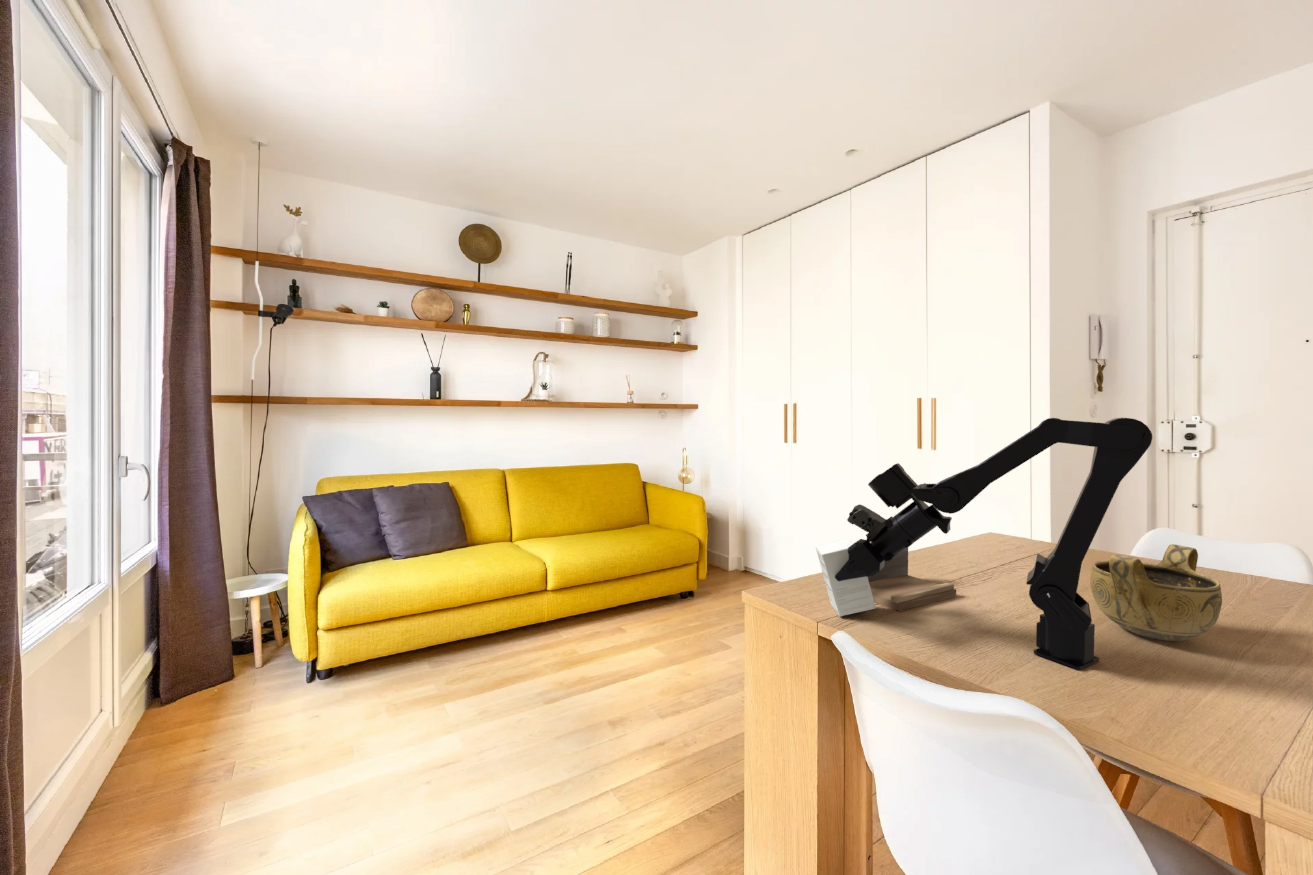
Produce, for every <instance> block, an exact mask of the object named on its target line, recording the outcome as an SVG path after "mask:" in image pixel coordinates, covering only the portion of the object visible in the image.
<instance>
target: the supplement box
mask: <svg viewBox="0 0 1313 875" xmlns="http://www.w3.org/2000/svg"><path fill="white" fill-rule="evenodd" d="M854 543H855V542H854V541H853V540H852V539H850V538H846V539H841V540H839V541H834V542H831V543H826V544H821V545H817V546H815V550H816V554H817V557H818V560H819V561H818V562H819V564H820V568H821V571H822V576H823V579H824V583H825V586H826V591H827V594H828V598H829V602H830V605H831V607H832V608H833V609H834V611H835V613H836V614H837V615H838V617H843V616H848V615H852V614H857V613H861V612H866V611H870V610H876V608H877V607H876V602H874V599H873V595H872V592H871V588H870V584H869V581H868V577H860V578H854V579H849V580H843V581H837V579H836V578H835V575H836V574H837V573H838V572H839V571H840V569H841V568H842V567H843V566H844V564H845V563H846V562H847V561H848V559H849V554H848V548H849V547H850V546H851V545H853V544H854Z"/></svg>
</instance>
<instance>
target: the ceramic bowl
mask: <svg viewBox="0 0 1313 875" xmlns="http://www.w3.org/2000/svg"><path fill="white" fill-rule="evenodd" d="M1198 560H1199V553H1198V550H1197V549H1196V548H1195V547H1190V546H1185V545H1181V544H1173V543H1172V544H1169V545H1168V546H1167V548H1166V550H1165V552H1164V554H1163V557H1162V560H1161V561H1160V562H1159V563H1157V564H1155V563H1149V562H1147V563H1146V562H1142V560H1141V559H1139V558H1138V557H1137V558H1136V557H1132V556H1125V555H1118V554H1112V555H1111V556H1110V558H1109V560H1098V561H1095V562H1093V563H1092V567H1091V572H1090V589H1091V593H1092V598H1093V601H1094V602H1095V604H1096V606H1097V607H1098V609H1099V610H1100V611H1101V612H1102V613H1103V614H1104V615H1105V616H1106V617H1107V618H1108V619H1109V620H1110V621H1112V622H1113V623H1115V624H1117V625H1118V626H1120V627H1122V628H1124V629H1125V630H1127V631H1129V632H1132V633H1133V634H1134V635H1135V634H1136V635H1139V636H1141V637H1145V638H1149V639H1152V640H1157V641H1164V642H1165V641H1166V642H1168V641H1169V642H1178V641H1184V640H1185V641H1187V640H1190V639H1194V638H1197V637H1200V636H1202V635H1204V634H1205V633H1207V632H1209V630H1211V629H1212V628H1213V627H1214V625H1215V624H1216V623H1217V621H1218V619H1219V618H1220V614H1221V610H1222V605H1223V596H1222V595H1223V594H1222V588H1221V587H1222V586H1221V583H1220V582H1219V581H1218V579H1216V578H1213V577H1211V576H1209V575H1206V574H1202V573H1198V572H1196V570H1197V566H1198Z"/></svg>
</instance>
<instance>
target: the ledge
mask: <svg viewBox="0 0 1313 875" xmlns="http://www.w3.org/2000/svg"><path fill="white" fill-rule="evenodd" d="M867 577H868V576H867ZM868 581H869V584H870V588H871V592H872V595H873V599H874V603H875V604H879V605H880V606H884V607H886V606H887V607H886V608H889V609H892V610H895V611H897V610H898V611H897V612H902V611H901V610H903V611H907V610H910V609H909V608H911V609H914V608H913V607H915V608H917V607H916V606H918V607H922V606H926V605H929V604H933V603H936V602H941V601H944V600H948V598H949V599H952V598H955V596H956V597H957V589H956V588H955V584H954V583H951V582H948V581H947V582H944V583H936V582H931V581H928V580H925V579H921V578H918V577H915V576H911V575H909V547H908V548H906V549H904V550H903V551H901V552H900V553H899V554H898V555H896V556H895V557H894V558H892V559H891V560H890V561H886V562H884V567H883V568H882V569H881V570H880V571H879V572H877V573H876V574H875V575H873V576H872V577H871V576H870V577H868ZM925 604H926V605H925ZM921 605H922V606H921ZM906 609H907V610H906Z"/></svg>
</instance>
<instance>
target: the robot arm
mask: <svg viewBox="0 0 1313 875" xmlns="http://www.w3.org/2000/svg"><path fill="white" fill-rule="evenodd" d="M1152 440H1153V433H1152V431H1151V430H1150V428H1149V426H1148V425H1146V424H1145V423H1144V422H1142V421H1141V420H1138V419H1137V418H1131V417H1117V418H1116V417H1114V418H1113V419H1110V420H1107V421H1105V422H1094V421H1082V420H1080V421H1079V420H1066V419H1061V418H1057V417H1049V418H1045V419H1044V420H1043V421H1041V422H1040V423H1039V424H1038V425H1037V426H1036V427H1035V428H1033V429H1031V430H1030V431H1028V432H1026V433H1025V434H1023V435H1022V436H1021V437H1019V438H1017V439H1016V440H1014V441H1013V442H1011V443H1009V444H1008V445H1007V446H1004V448H1001V450H999V451H998V452H995V453H994V454H992V455H991V456H990V457H988V458H986V459H985V460H983V461H981V462H980V463H979V464H976V465H975V466H972V467H970V468H966V469H965V470H962V471H959V472H958V473H955V474H953V475H951V476H947V477H946V478H944V479H942V480H940V481H939V482H937V483H927V482H924V483H920V484H917V482H915V481H914V479H913V478H912V477H911V476H910V475H909V474H908V473H907V472H906V471H905V469H904V467H903V466H902V465H901V464H900V463H895V464H893V465H892V466H891V467H890V468H889V467H888V468H887V469H886V470H885V471H883V472H881V473H880V474H877V475H876V476H875V477H874V478H872V480H870V481H869V482H868V484H867V486H868V487H869V488H870V489H871V490H872V491H873V492H874V493H875V494H876V495H877V496H878V498H879V499H880V500H881V501H882V502H883V503H884V504H885V506H886V507H887V508H889V507H891V508H894V507H895V508H896V509H897V510H898V509H899V508H901V507H902V506H904V505H905V504H906V503H907V502H909V501H910V500H912V502H911V503H910V504H908V505H907V506H905V507H904V508H903V509H901V510H900V511H899V512H898V513H896V514H895V515H894V516H889V517H888V518H887V519H886V518H884V517H883V516H882V515H880V514H878V513H877V512H875V511H873V510H872V509H870V508H868V507H867V506H865V505H863V504H857V505H855V506H854V507H853V509H852V511H850V512H849V514H848V515H849V516H848V517H847V519H846V520H847V522H848V523H849V524H852V525H854V526H857V527H858V528H860V529H861V530H863V531H864V532H867V533H866V534H865V536H866V539H863V538H860V539H858V540H857V541H855V542H854V544H853V545H851V546H850V547H849V548H848V554H849V559H848V561H847V562H846V563H845V564H844V566H843V567H842V568H841V569H840V571H839V572H838V573H837V574H836V575H835V578H836V579H837V581H843V580H849V579H854V578H860V577H867V576H868V577H870V576H871V577H872V576H873V575H875V574H876V573H877V572H879V571H880V570H881V569H882V568H883V567H884V562H886V561H890V560H891V559H892V558H894V557H895V556H896V555H898V554H899V553H900V552H901V551H903V550H904V549H906V548H908V549H909V548H910V546H912V545H913V544H914V543H916V542H918V540H920V539H921V538H923V537H924V536H925V535H927V534H929V533H930V532H931V531H933V530H934V529H935V528H938V529H939V530H940V531H941V532H942V533H943V534H948V533H949V532H950V531H951V521H952V517H951V516H946V515H943V514H942V513H944V514H945V513H946V514H955V513H958V512H960V511H962V510H963V509H964V508H966V506H967V505H968V504H969V503H970V502H972V501H973V500H974V499H975V498H976V497H977V496H979V495H980V494H981V492H983V491H984V490H985V489H986V488H987V487H988V486H990V484H992V483H994V482H995V481H996V480H998V479H1000V478H1002V477H1003V476H1005V475H1007V474H1008V473H1010V472H1012V471H1013V470H1015V469H1016V468H1018V467H1019V466H1021V465H1023V464H1024V463H1026V462H1028V461H1029V460H1031V459H1033V458H1034V457H1036V456H1037V455H1039V454H1041V453H1042V452H1044V451H1045V450H1047V449H1049V448H1050V447H1052V446H1054V445H1055V444H1058V443H1061V444H1068V445H1078V446H1083V447H1092V448H1094V449H1093V453H1092V460H1091V465H1090V471H1089V473H1088V476H1087V478H1086V480H1085V481H1084V484H1083V486H1082V488H1081V490H1080V491H1079V495H1078V497H1077V498H1076V501H1075V503H1074V506H1073V508H1072V511H1071V513H1070V514H1069V516H1068V519H1067V521H1066V522H1065V525H1064V527H1063V530H1062V531H1061V534H1060V536H1059V538H1058V540H1057V543H1056V545H1055V547H1054V549H1053V550H1052V551H1051V552H1050V553H1049V554H1048V555H1047V557H1045V556H1044V555H1041V554H1040V553H1037V554H1036V558H1035V562H1034V566H1033V568H1032V569H1031V570H1030V571H1029V572H1027V578H1026V583H1025V584H1026V585H1027V586H1028V585H1029V589H1028V595H1029V596H1028V597H1029V598H1030V601H1031V602H1032V604H1033V605H1034V606H1035V607H1037V609H1039V610H1041V611H1042V612H1043V613H1042V614H1039V621H1038V622H1036V626H1035V627H1036V628H1035V629H1036V633H1035V639H1036V641H1035V646H1036V647H1037V648H1035V649H1033V654H1034V655H1037V656H1039V657H1041V658H1042V657H1043V658H1045V659H1048V660H1051V661H1053V662H1056V663H1058V664H1062V665H1065V666H1067V667H1070V668H1073V669H1075V670H1082V669H1084V668H1087V667H1089V666H1092V665H1093V664H1096V663H1098V662H1100V657H1099V656H1095V631H1096V630H1095V623H1092V621H1093V620H1092V614H1091V613H1092V612H1091V610H1090V609H1091V607H1090V604H1089V602H1088V601H1087V600H1086V599H1084V597H1082V595H1081V594H1080V593H1078V588H1079V587H1078V586H1079V582H1080V576H1081V575H1080V574H1081V570H1082V564H1083V561H1084V559H1085V557H1086V555H1087V553H1088V551H1089V549H1090V546H1091V545H1092V542H1093V540H1094V539H1095V536H1096V533H1097V532H1098V530H1099V528H1100V526H1101V523H1102V521H1103V519H1104V517H1105V514H1106V513H1107V510H1108V508H1109V507H1110V504H1111V502H1112V500H1113V498H1114V496H1115V494H1116V492H1117V489H1118V488H1119V485H1120V483H1121V481H1122V480H1123V479H1124V478H1125V477H1126V476H1127V475H1128V473H1130V471H1131V470H1132V469H1133V468H1134V467H1135V465H1137V464H1138V462H1139V461H1140V459H1141V458H1142V456H1143V455H1144V454H1145V453H1146V451H1148V449H1149V448H1150V447H1151V445H1152ZM928 504H930V505H928ZM941 512H942V513H941Z"/></svg>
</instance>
